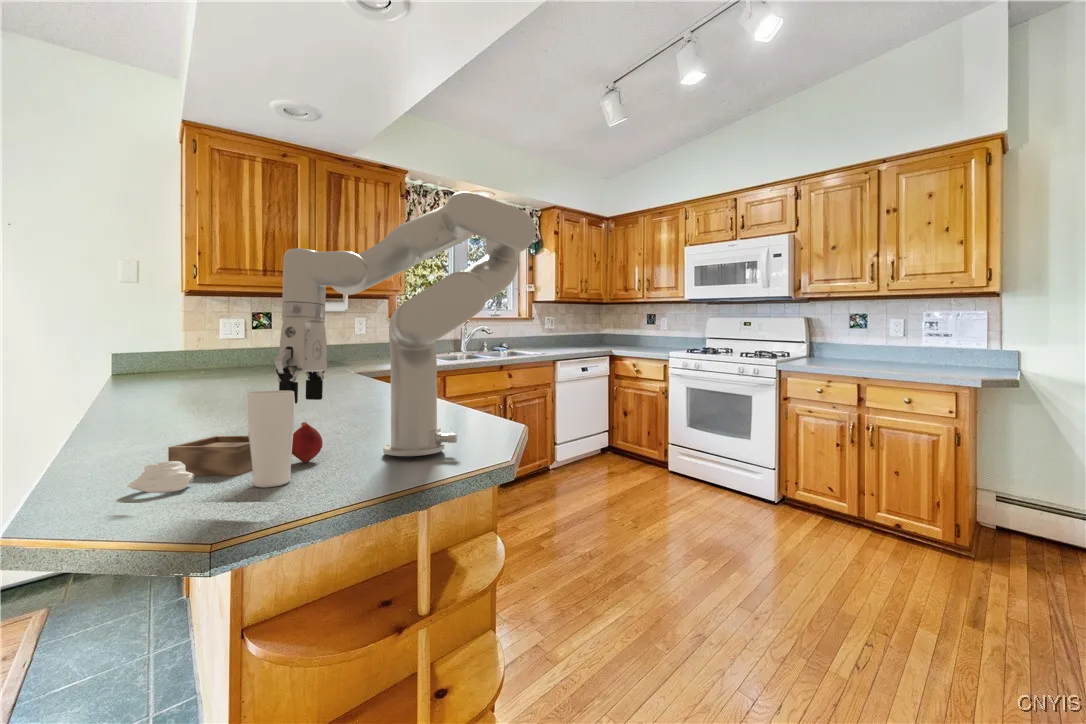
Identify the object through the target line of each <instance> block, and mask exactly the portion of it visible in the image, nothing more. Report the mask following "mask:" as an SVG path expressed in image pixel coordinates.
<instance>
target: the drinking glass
mask: <svg viewBox="0 0 1086 724" xmlns="http://www.w3.org/2000/svg"><path fill="white" fill-rule="evenodd" d="M295 414H296V404H295V396H294V391H285V390H282V391H279V390H258V391H249V392H247V393H246V424H247V432H248V433H247V434H248V436H249V443H250V452H251V462H252V470H251V471H252V485H253V486H255V487H256V488H260V489H261V488H275V487H280V486H283V485H286V484H288V483H289V482H291V477H292V476H291V475H292V472H291V470H292V469H291V466H292V456H293V454H292V445H293V434H294V432H295V431H294V429H295V418H296V415H295Z"/></svg>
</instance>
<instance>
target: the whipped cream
mask: <svg viewBox="0 0 1086 724" xmlns="http://www.w3.org/2000/svg"><path fill="white" fill-rule="evenodd" d="M185 467H186V466H185V464H183V463H182V462H179V461H169V460H168V461H160V462H156V463H151V464H147V465H145V466H144V469H143V472H141V475H139V476H138V478H134V479H133V480H132V481H130V483H128V484H127V485H126V487H127V488H131V489H132V490H135V491H139V492H146V493H152V494H162V493H163V494H165V493H166V492H167V493H171V492H172V493H173V492H177V491H181V490H184V489H186V488H187V486H188V485H189V484H190V483H192V482H194V481H195V480H194V478H195V476H194V474H192V473H189V472H186V470H185ZM192 484H193V483H192Z"/></svg>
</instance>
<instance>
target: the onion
mask: <svg viewBox="0 0 1086 724" xmlns="http://www.w3.org/2000/svg"><path fill="white" fill-rule="evenodd" d="M322 448H323V438H322V436H321V434H320V432H319V431H318V430H317V429H316V428H314V427H312V426H311V425H310V424H308V423H307V422H305V421H303V422H301V426H300V427H299V428H298V429H297V430H295V431H294V433H293V445H292V456H293V457H295V458H296V459H298V460H299V461H300V462H302V463H303V464H305V463H306V462H307V463H309V462H310V461H311V460H313V459H314V458H315V457H317V455H318V454H319V453H320V452H321V450H322ZM307 463H306V464H307Z"/></svg>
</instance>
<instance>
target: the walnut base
mask: <svg viewBox="0 0 1086 724" xmlns="http://www.w3.org/2000/svg"><path fill="white" fill-rule="evenodd" d="M167 450H168V452H167V453H168V454H167V456H168V459H167V460H168V461H179V462H182V463H183V464H185V466H186V467H185V470H186V472H189V473H192V474H194V477H196V476H197V477H199V476H201V477H202V476H204V477H205V476H206V477H209V476H212V477H215V476H220V477H221V476H223V477H224V476H225V477H226V476H240V475H242V474H245V473H248V472H251V471H252V462H251V452H250V443H249V435H214V436H210V437H206V438H200V439H197V440H193V441H190V442H189V441H188V442H185V443H181V444H176V445H172V446H168V449H167Z"/></svg>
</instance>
